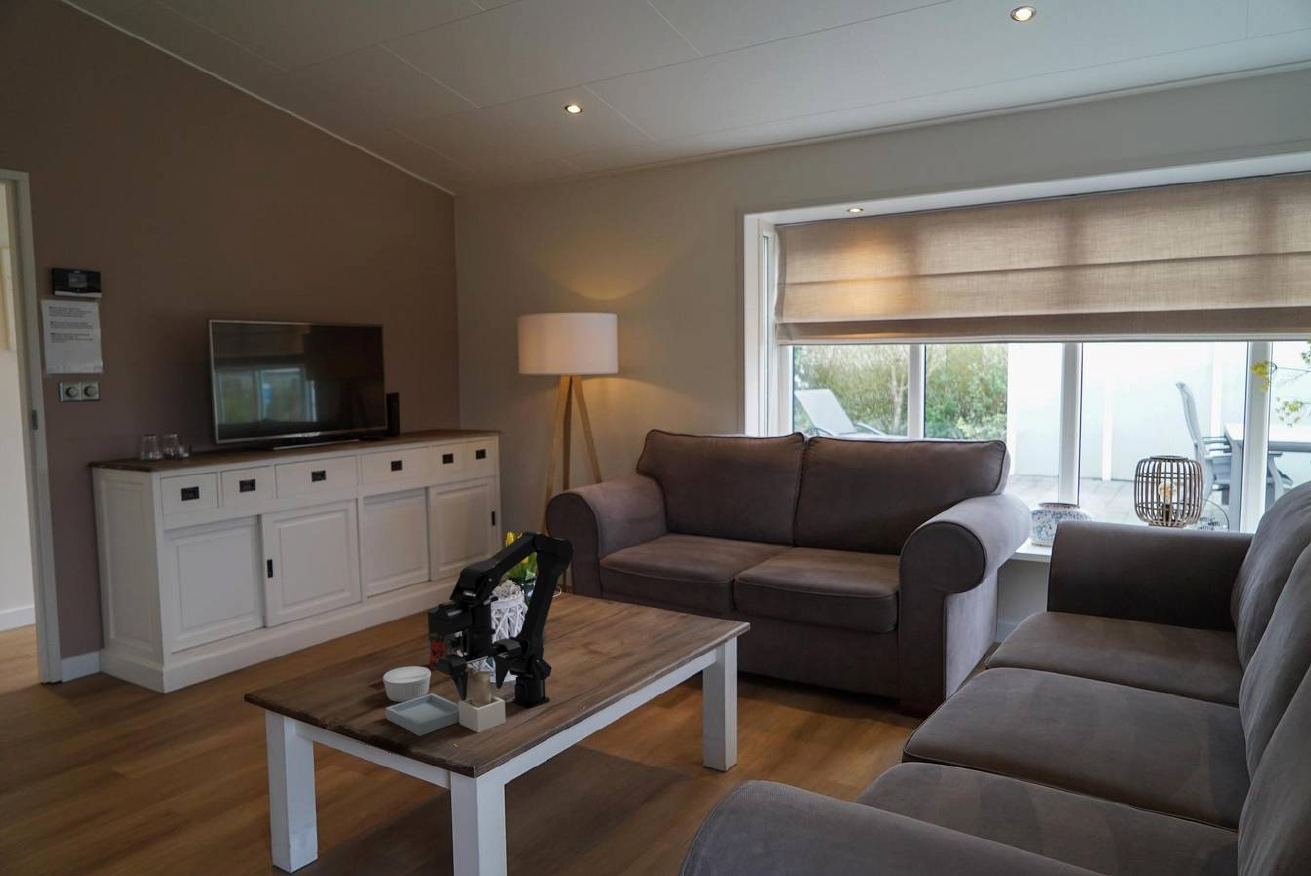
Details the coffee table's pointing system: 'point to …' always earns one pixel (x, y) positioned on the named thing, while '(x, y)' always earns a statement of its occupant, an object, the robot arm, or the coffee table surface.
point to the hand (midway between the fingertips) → (481, 694)
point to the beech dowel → (481, 689)
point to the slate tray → (424, 714)
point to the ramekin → (407, 683)
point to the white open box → (482, 714)
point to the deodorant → (435, 641)
